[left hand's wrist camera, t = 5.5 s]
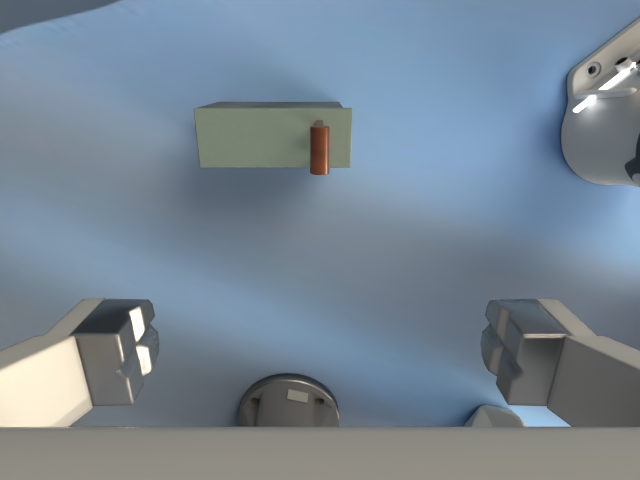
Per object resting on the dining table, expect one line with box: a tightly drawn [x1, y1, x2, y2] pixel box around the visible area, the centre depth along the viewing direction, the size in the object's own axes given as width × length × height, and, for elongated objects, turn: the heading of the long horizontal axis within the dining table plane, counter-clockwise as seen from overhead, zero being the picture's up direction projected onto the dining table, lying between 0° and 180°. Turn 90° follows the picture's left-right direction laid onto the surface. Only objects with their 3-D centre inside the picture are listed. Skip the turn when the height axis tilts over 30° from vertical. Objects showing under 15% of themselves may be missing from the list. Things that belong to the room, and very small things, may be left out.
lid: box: [194, 108, 352, 175], centre depth 36 cm, size 15×5×8 cm, turn 90°
